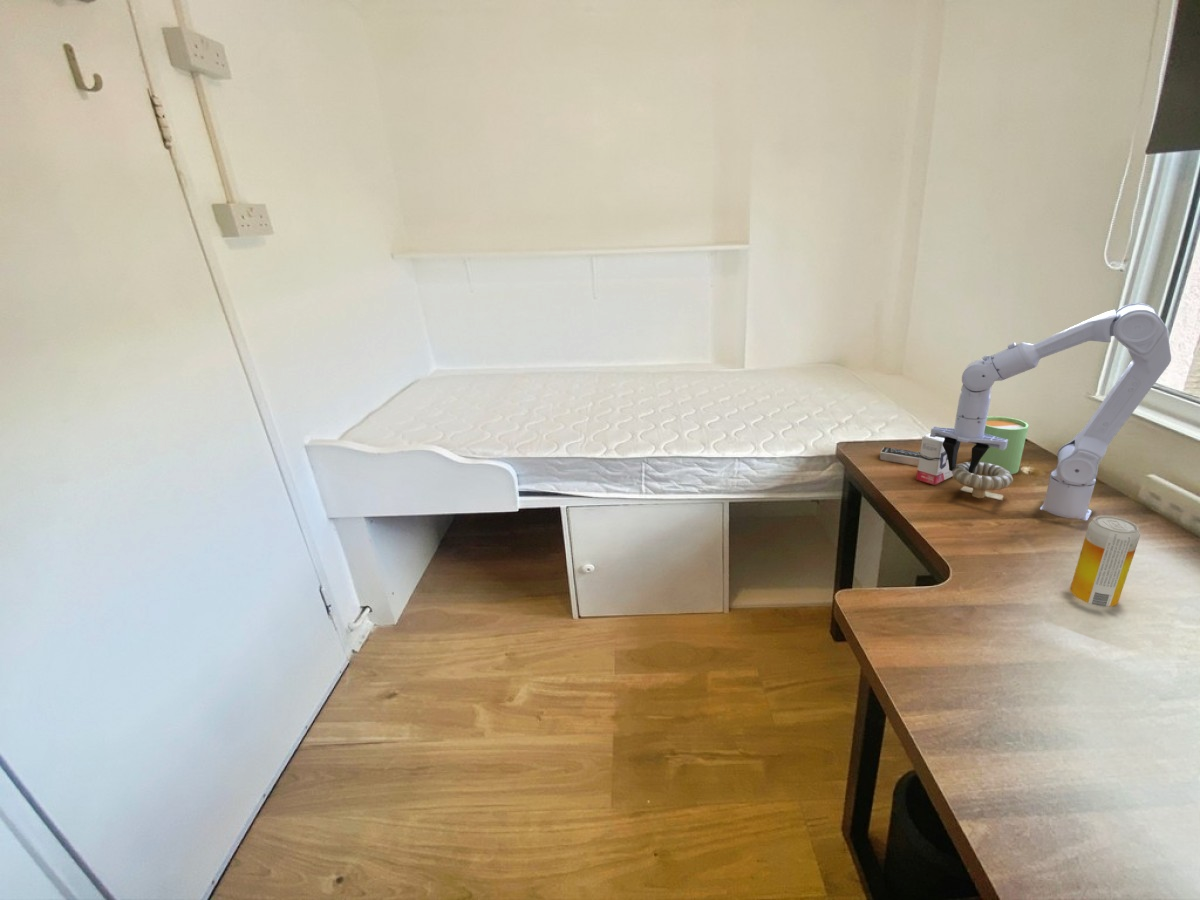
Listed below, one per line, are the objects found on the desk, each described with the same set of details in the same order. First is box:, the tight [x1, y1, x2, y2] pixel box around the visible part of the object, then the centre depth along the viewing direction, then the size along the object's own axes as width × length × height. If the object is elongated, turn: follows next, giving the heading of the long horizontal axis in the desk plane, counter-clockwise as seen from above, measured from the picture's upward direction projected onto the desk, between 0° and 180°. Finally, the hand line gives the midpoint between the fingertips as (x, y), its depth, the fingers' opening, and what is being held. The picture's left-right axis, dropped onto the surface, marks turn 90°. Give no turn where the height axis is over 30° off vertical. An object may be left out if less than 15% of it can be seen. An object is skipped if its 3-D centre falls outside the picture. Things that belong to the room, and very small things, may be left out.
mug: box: [974, 416, 1030, 475], centre depth 141 cm, size 13×10×12 cm
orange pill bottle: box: [1069, 515, 1141, 607], centre depth 90 cm, size 6×6×15 cm
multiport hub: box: [879, 446, 920, 467], centre depth 149 cm, size 4×11×2 cm, turn 52°
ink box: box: [915, 432, 953, 486], centre depth 137 cm, size 8×5×12 cm, turn 122°
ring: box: [952, 461, 1014, 491], centre depth 124 cm, size 11×11×3 cm
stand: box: [959, 485, 1004, 501], centre depth 125 cm, size 8×8×6 cm
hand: (961, 471), depth 127 cm, fingers closed on ring, 3 cm apart
